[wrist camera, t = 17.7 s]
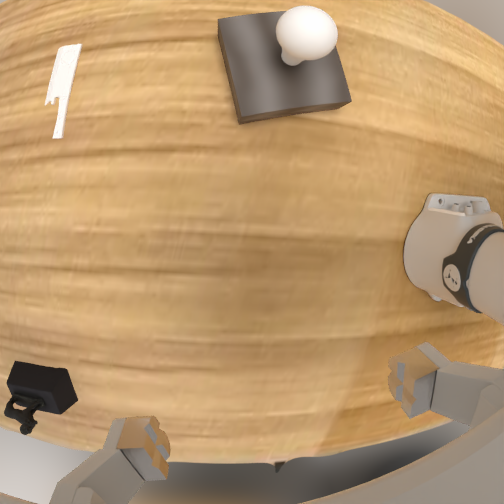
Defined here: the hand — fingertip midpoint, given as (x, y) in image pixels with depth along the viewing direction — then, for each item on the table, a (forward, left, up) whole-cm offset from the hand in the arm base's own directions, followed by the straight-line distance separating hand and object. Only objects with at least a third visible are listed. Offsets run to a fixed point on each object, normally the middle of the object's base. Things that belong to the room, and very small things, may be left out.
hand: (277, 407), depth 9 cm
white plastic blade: (+21, -27, -34) cm, 48 cm away
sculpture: (+41, +18, -34) cm, 56 cm away
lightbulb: (-11, -20, -28) cm, 37 cm away
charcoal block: (-11, -21, -33) cm, 41 cm away
